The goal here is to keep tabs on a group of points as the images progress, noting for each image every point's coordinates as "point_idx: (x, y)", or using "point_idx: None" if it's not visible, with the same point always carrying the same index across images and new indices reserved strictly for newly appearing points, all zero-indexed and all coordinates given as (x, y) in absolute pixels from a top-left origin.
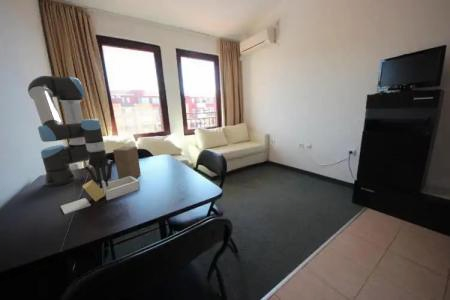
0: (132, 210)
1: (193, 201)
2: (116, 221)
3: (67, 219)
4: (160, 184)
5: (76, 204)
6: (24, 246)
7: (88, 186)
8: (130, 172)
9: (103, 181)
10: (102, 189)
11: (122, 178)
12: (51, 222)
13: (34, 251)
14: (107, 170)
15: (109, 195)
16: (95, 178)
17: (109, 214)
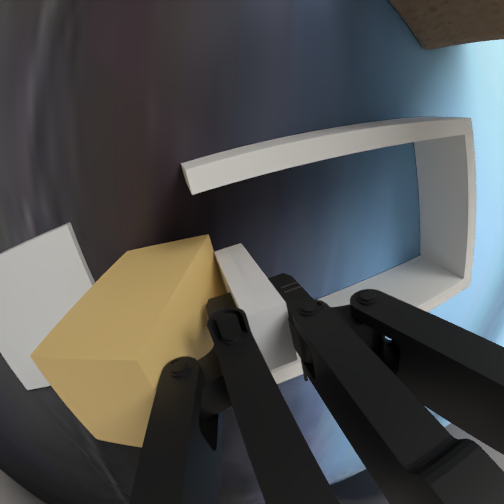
0: (317, 451)
1: (441, 424)
2: (258, 484)
3: (68, 429)
4: (486, 263)
5: (40, 317)
6: (30, 477)
7: (130, 445)
8: (474, 41)
9: (280, 341)
10: (224, 280)
11: (427, 135)
12: (14, 414)
13: (72, 500)
14: (449, 365)
15: None
16: (214, 458)
17: (239, 458)
